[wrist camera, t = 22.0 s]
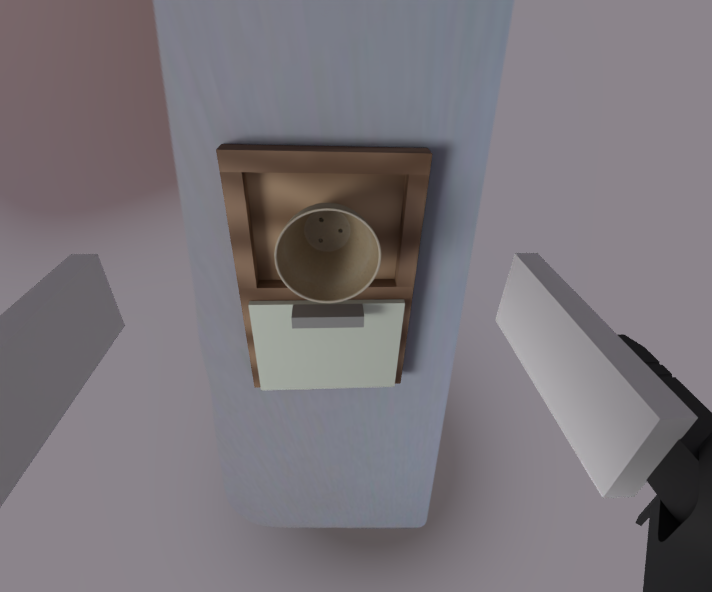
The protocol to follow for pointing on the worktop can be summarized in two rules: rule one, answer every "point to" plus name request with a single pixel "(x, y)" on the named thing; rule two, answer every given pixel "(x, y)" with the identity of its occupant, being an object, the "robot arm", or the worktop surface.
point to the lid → (326, 343)
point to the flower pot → (327, 253)
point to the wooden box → (312, 186)
